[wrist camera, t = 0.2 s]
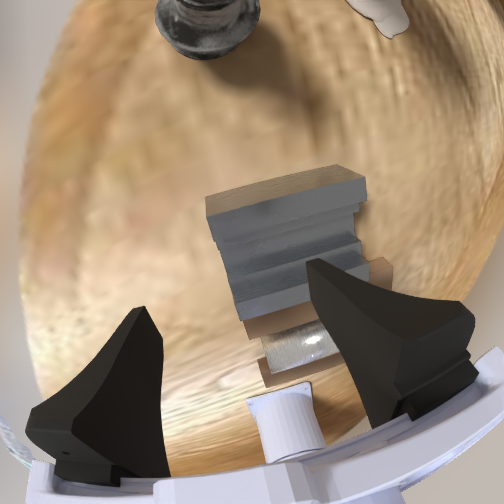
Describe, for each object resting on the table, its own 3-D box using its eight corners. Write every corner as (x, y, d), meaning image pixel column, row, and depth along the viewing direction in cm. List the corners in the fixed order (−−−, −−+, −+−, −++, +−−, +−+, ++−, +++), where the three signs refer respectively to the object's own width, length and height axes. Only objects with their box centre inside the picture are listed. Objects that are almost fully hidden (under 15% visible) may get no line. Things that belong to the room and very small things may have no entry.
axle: (372, 287, 27) (392, 310, 23) (371, 316, 28) (388, 340, 25) (257, 325, 26) (265, 355, 22) (265, 352, 28) (273, 382, 24)
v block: (345, 255, 24) (368, 280, 20) (233, 288, 23) (240, 321, 20) (336, 164, 20) (365, 176, 16) (205, 197, 20) (206, 217, 16)
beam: (377, 336, 30) (384, 346, 28) (263, 375, 29) (266, 388, 28) (383, 256, 25) (393, 266, 23) (238, 302, 24) (240, 315, 22)
